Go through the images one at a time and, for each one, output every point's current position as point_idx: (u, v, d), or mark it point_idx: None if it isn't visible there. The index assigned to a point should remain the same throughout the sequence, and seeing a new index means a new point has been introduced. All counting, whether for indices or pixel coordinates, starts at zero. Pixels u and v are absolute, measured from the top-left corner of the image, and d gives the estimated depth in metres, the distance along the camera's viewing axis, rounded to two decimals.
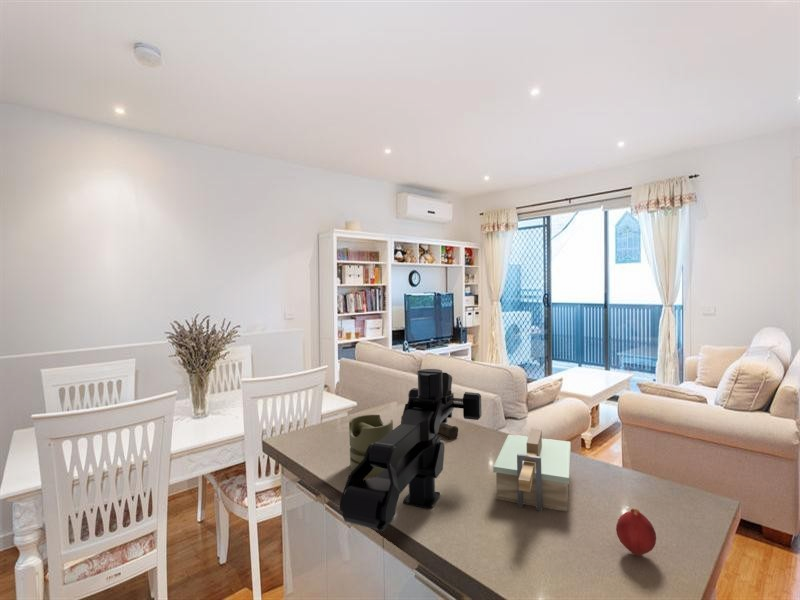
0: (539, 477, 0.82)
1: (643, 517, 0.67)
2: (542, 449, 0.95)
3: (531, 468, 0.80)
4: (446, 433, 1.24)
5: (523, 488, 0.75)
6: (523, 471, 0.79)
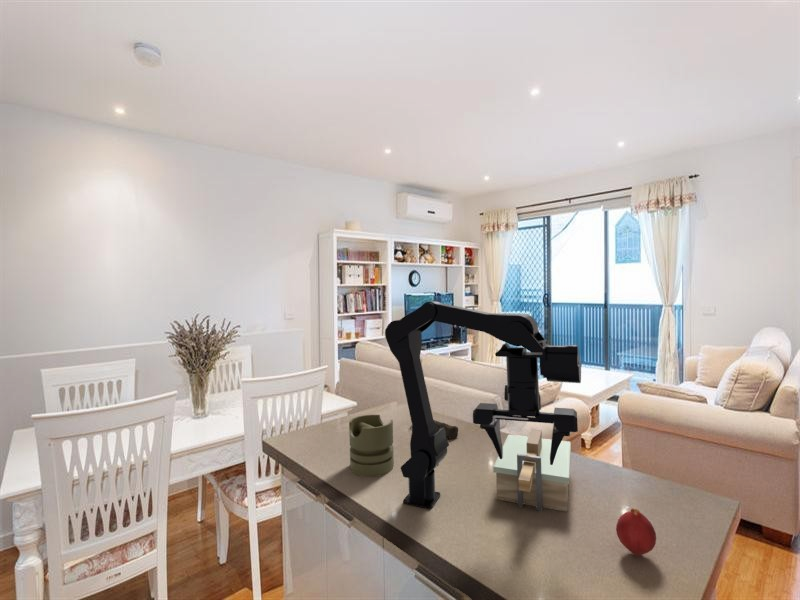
0: (539, 477, 0.82)
1: (643, 517, 0.67)
2: (542, 449, 0.95)
3: (531, 468, 0.80)
4: (446, 433, 1.24)
5: (523, 488, 0.75)
6: (523, 471, 0.79)
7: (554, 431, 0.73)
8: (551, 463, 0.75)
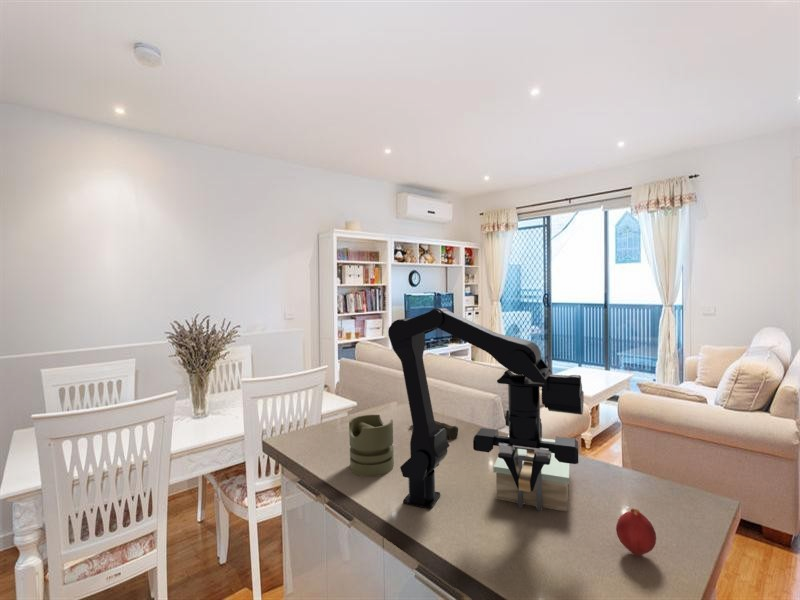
0: (539, 477, 0.82)
1: (643, 517, 0.67)
2: None
3: (531, 468, 0.80)
4: (446, 433, 1.24)
5: (524, 488, 0.75)
6: (523, 471, 0.79)
7: (535, 459, 0.74)
8: (531, 489, 0.76)
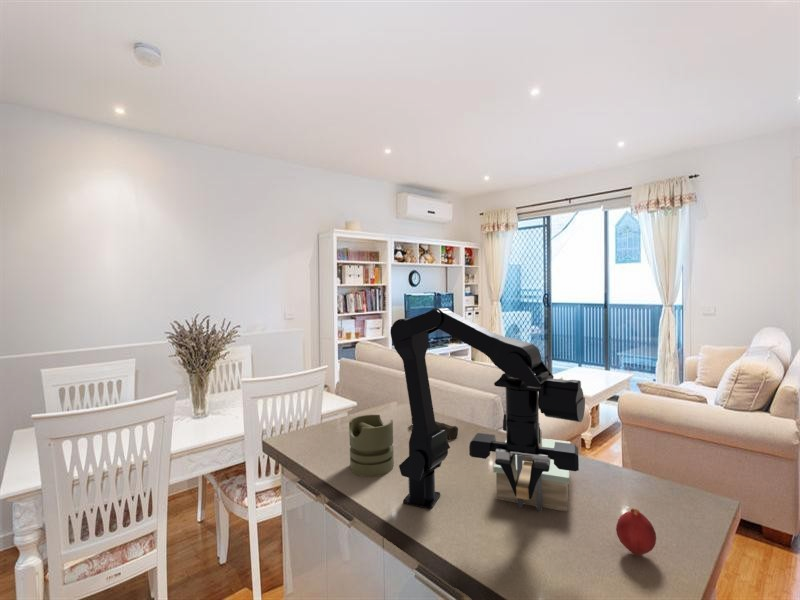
0: None
1: (643, 517, 0.67)
2: None
3: (529, 475, 0.77)
4: None
5: (521, 495, 0.72)
6: (521, 478, 0.76)
7: (533, 466, 0.71)
8: (530, 497, 0.73)
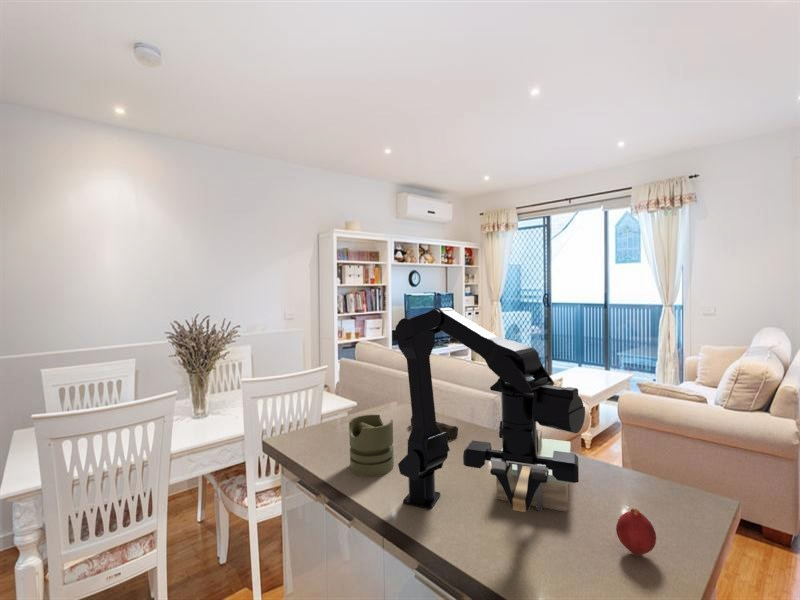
0: None
1: (643, 517, 0.67)
2: (542, 449, 0.95)
3: (527, 485, 0.73)
4: None
5: (518, 507, 0.68)
6: (518, 488, 0.72)
7: (530, 476, 0.67)
8: (527, 509, 0.69)
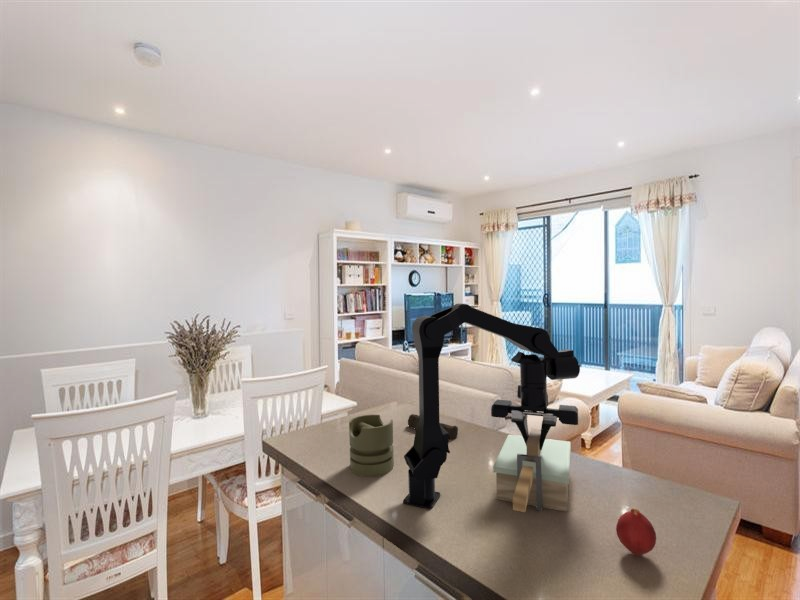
0: (539, 477, 0.82)
1: (643, 517, 0.67)
2: (542, 449, 0.95)
3: (527, 485, 0.73)
4: None
5: (518, 507, 0.68)
6: (518, 488, 0.72)
7: (543, 422, 0.90)
8: (540, 448, 0.92)
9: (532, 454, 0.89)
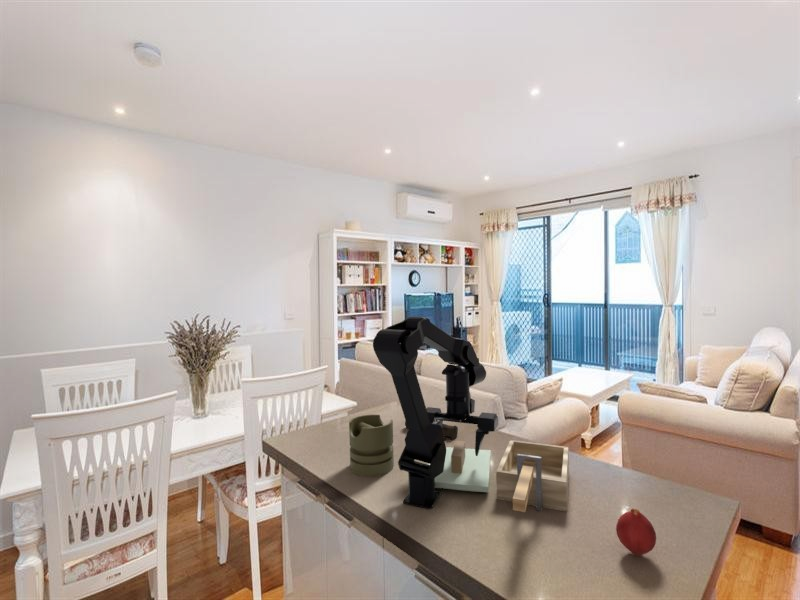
0: (539, 477, 0.82)
1: (643, 517, 0.67)
2: (465, 459, 1.03)
3: (527, 485, 0.73)
4: (447, 433, 1.24)
5: (518, 507, 0.68)
6: (518, 488, 0.72)
7: (477, 430, 0.96)
8: (476, 454, 0.98)
9: (456, 466, 0.95)
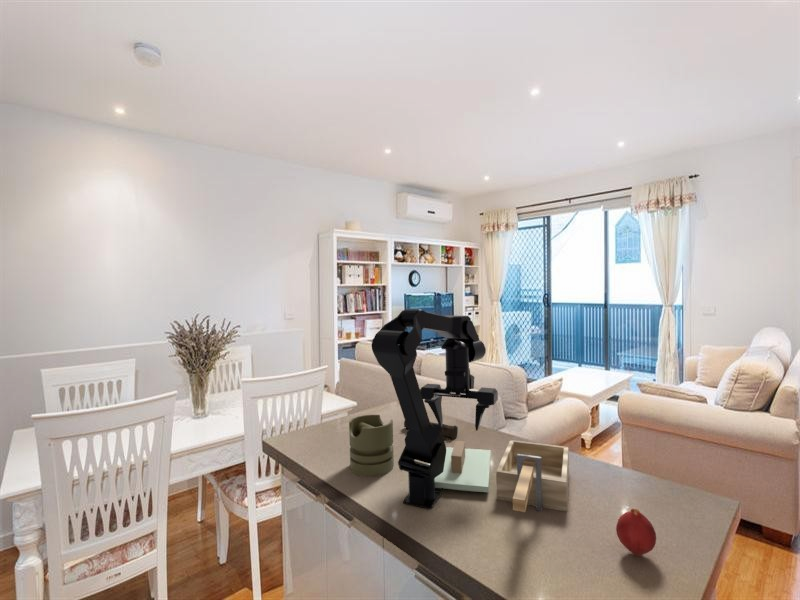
0: (539, 477, 0.82)
1: (643, 517, 0.67)
2: (465, 459, 1.03)
3: (527, 485, 0.73)
4: (448, 433, 1.24)
5: (518, 507, 0.68)
6: (518, 488, 0.72)
7: (477, 404, 0.96)
8: (476, 429, 0.98)
9: (456, 466, 0.95)
